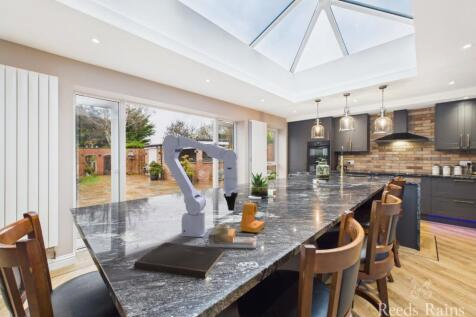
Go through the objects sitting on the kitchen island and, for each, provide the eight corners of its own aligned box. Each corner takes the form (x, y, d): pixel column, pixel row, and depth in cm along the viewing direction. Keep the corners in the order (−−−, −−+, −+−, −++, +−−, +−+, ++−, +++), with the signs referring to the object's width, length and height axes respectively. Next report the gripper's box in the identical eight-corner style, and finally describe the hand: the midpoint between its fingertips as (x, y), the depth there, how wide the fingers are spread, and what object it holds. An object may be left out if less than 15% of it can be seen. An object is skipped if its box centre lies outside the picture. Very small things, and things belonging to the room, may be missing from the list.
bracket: (255, 234, 95) (255, 206, 95) (240, 232, 98) (240, 204, 98) (265, 227, 104) (264, 201, 104) (250, 225, 108) (250, 200, 107)
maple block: (215, 241, 85) (215, 227, 85) (217, 237, 89) (217, 224, 89) (228, 241, 84) (228, 228, 84) (229, 237, 88) (229, 225, 88)
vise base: (206, 246, 82) (206, 235, 82) (213, 236, 92) (212, 227, 92) (255, 248, 80) (255, 237, 80) (256, 238, 90) (256, 228, 90)
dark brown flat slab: (165, 248, 82) (165, 242, 82) (224, 255, 76) (224, 248, 76) (133, 270, 66) (133, 262, 66) (205, 281, 60) (204, 272, 60)
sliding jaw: (227, 243, 82) (227, 235, 82) (230, 235, 90) (230, 228, 90) (232, 243, 82) (232, 235, 82) (235, 235, 90) (235, 228, 90)
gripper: (238, 179, 86) (238, 214, 86) (241, 176, 101) (242, 206, 101) (220, 180, 87) (220, 214, 87) (226, 176, 102) (226, 206, 102)
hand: (231, 210), depth 94 cm, fingers closed
